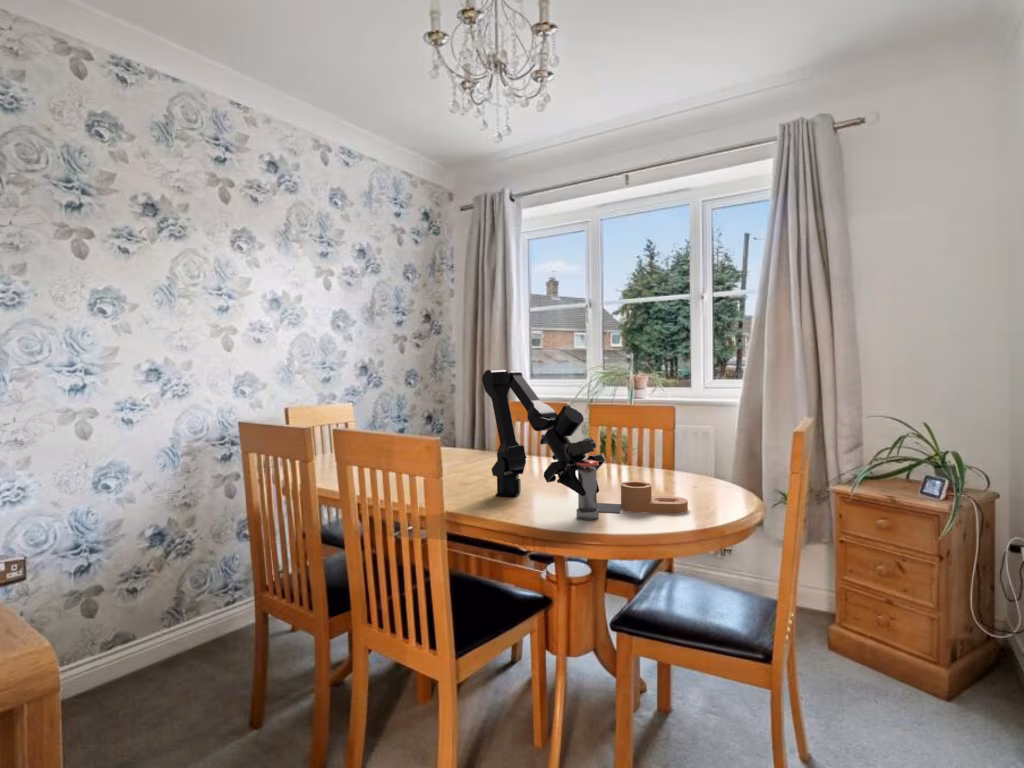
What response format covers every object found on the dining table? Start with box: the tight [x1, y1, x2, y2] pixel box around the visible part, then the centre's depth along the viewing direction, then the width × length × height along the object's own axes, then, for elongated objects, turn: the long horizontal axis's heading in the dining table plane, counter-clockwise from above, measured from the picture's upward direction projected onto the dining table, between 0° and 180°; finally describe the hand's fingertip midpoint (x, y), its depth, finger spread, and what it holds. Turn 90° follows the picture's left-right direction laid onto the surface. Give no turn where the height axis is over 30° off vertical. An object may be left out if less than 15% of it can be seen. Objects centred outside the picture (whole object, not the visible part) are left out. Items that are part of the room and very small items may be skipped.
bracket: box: [620, 480, 689, 514], centre depth 157 cm, size 18×8×7 cm, turn 81°
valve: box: [576, 459, 600, 522], centre depth 149 cm, size 6×6×15 cm
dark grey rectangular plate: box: [597, 502, 622, 514], centre depth 158 cm, size 7×9×1 cm
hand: (591, 493), depth 148 cm, fingers closed on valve, 5 cm apart
